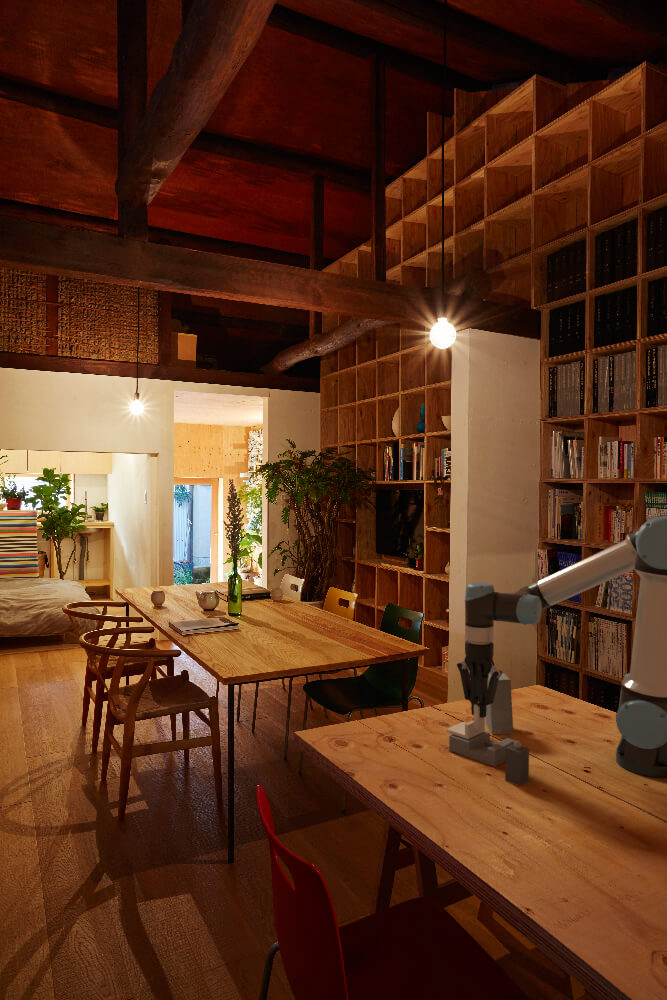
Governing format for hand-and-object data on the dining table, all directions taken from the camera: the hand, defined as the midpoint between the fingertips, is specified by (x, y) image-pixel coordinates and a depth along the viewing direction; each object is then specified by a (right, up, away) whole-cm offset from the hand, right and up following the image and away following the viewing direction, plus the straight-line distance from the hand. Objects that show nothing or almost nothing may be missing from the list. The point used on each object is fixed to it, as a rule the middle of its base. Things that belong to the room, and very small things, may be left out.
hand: (478, 728), depth 173 cm
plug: (+6, -7, -17) cm, 19 cm away
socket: (+1, -6, -1) cm, 6 cm away
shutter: (-3, -2, +3) cm, 5 cm away
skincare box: (+9, -6, +16) cm, 20 cm away
